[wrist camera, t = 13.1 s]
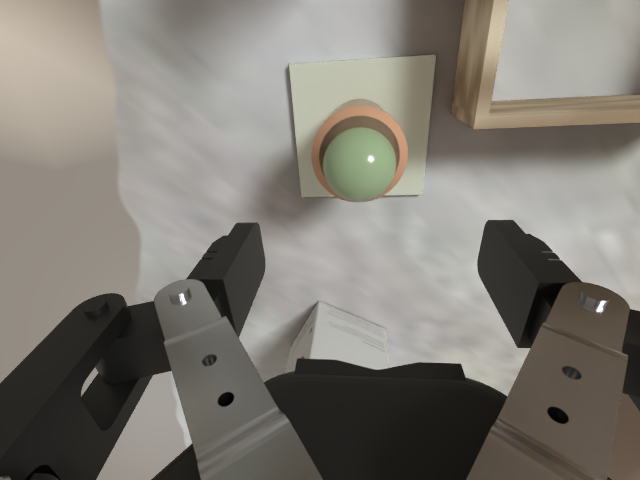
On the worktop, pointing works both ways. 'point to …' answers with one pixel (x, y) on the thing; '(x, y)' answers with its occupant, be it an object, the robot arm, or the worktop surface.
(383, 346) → the supplement box
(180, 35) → the worktop surface
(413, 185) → the sage mat
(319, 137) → the terracotta pot
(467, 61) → the wooden shadow box
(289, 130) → the worktop surface
